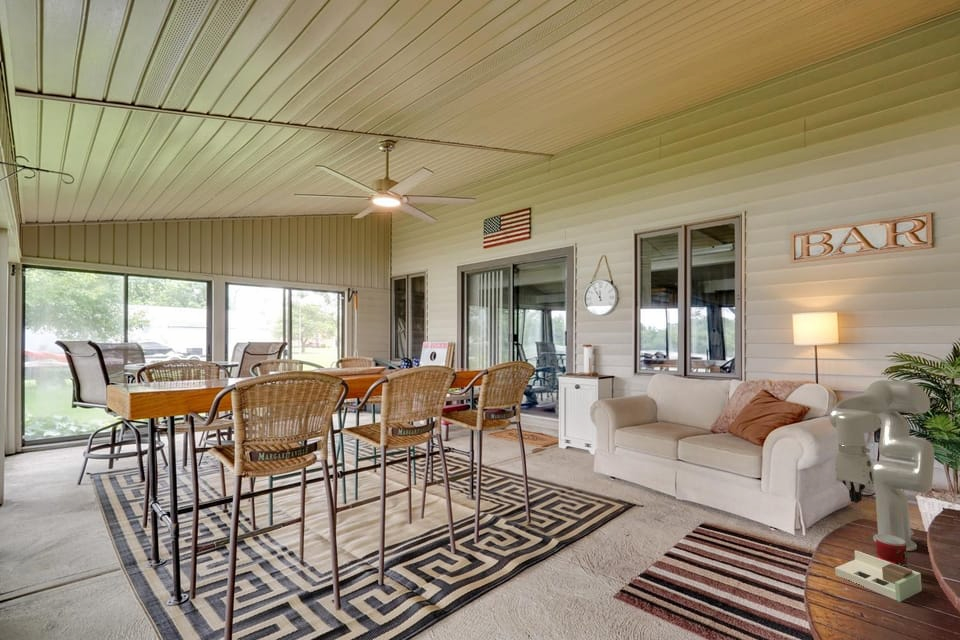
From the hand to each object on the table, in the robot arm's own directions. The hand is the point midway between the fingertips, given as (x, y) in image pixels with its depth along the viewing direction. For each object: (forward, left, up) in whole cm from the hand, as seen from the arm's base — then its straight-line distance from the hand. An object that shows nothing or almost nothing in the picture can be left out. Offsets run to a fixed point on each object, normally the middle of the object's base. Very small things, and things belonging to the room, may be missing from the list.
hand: (855, 501), depth 162 cm
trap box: (+4, +7, -24) cm, 25 cm away
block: (+3, +12, -21) cm, 25 cm away
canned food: (-9, +5, -24) cm, 26 cm away
